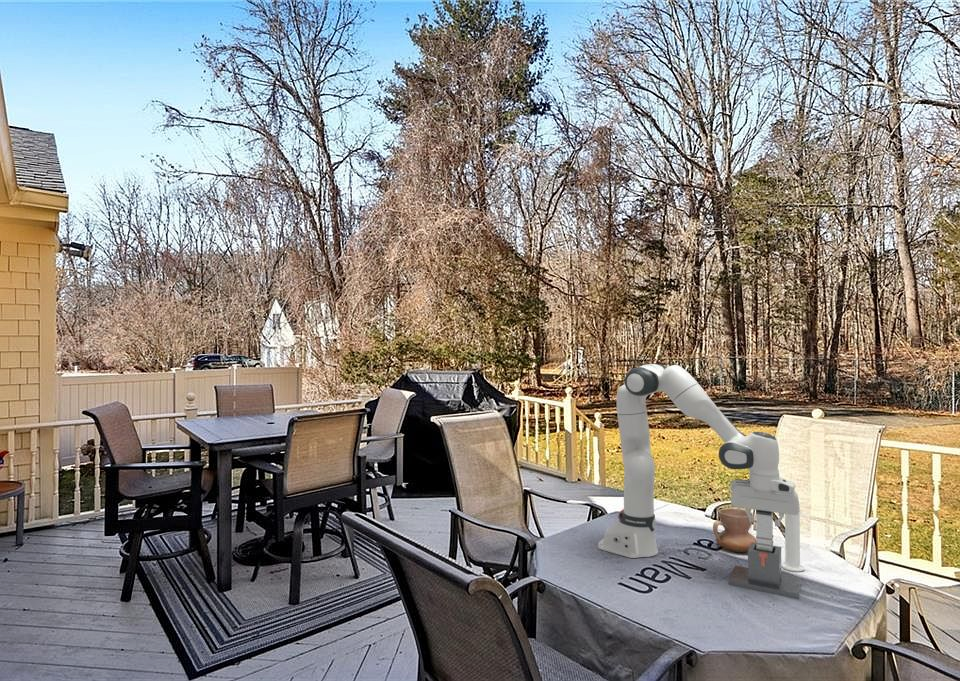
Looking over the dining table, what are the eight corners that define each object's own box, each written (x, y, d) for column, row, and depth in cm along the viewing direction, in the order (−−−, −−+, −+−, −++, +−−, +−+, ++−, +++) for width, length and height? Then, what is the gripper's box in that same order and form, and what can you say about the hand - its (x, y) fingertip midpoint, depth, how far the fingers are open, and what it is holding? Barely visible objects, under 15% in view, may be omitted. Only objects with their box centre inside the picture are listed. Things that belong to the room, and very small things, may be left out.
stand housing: (728, 584, 186) (728, 549, 186) (735, 569, 198) (734, 536, 198) (798, 598, 176) (798, 561, 176) (800, 582, 188) (800, 547, 188)
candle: (803, 566, 201) (802, 495, 201) (805, 573, 195) (804, 500, 195) (780, 562, 204) (780, 493, 204) (781, 570, 198) (781, 498, 198)
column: (755, 560, 186) (755, 511, 186) (757, 555, 190) (757, 507, 190) (772, 563, 184) (771, 513, 184) (773, 558, 188) (773, 510, 188)
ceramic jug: (746, 541, 227) (745, 505, 227) (769, 554, 212) (767, 516, 212) (703, 544, 225) (702, 508, 225) (723, 557, 210) (722, 518, 210)
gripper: (728, 480, 190) (729, 521, 190) (798, 488, 179) (799, 531, 179) (731, 476, 195) (731, 516, 195) (799, 483, 184) (800, 526, 184)
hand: (764, 524), depth 187 cm, fingers open, 6 cm apart
